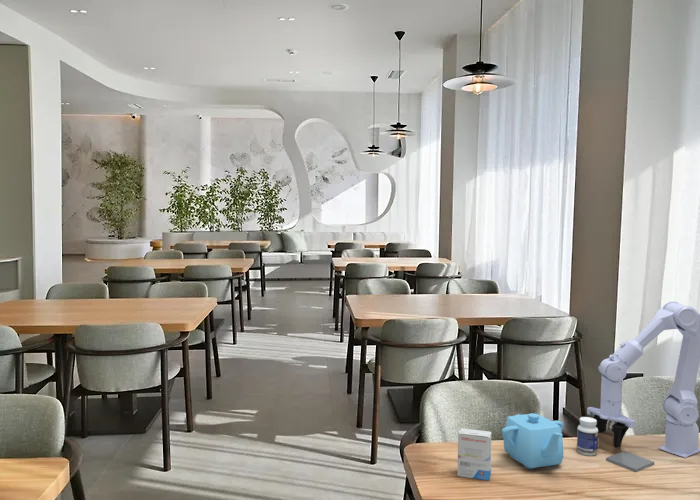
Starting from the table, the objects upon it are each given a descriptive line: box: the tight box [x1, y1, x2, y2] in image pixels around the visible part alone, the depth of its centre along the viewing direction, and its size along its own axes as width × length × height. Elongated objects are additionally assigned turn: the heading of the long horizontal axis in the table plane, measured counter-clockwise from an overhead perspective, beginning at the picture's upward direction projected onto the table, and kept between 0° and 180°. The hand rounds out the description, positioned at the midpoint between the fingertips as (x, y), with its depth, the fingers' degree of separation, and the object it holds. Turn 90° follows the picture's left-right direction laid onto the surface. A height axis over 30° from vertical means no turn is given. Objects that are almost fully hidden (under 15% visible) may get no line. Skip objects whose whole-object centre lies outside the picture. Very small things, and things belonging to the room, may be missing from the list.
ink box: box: [457, 427, 492, 482], centre depth 159 cm, size 9×5×12 cm, turn 71°
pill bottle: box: [576, 416, 599, 457], centre depth 174 cm, size 6×6×10 cm
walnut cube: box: [598, 429, 622, 454], centre depth 177 cm, size 4×4×4 cm
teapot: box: [501, 412, 565, 470], centre depth 167 cm, size 18×16×14 cm
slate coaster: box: [605, 450, 655, 473], centre depth 167 cm, size 9×9×1 cm
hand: (609, 444), depth 177 cm, fingers closed on walnut cube, 4 cm apart
